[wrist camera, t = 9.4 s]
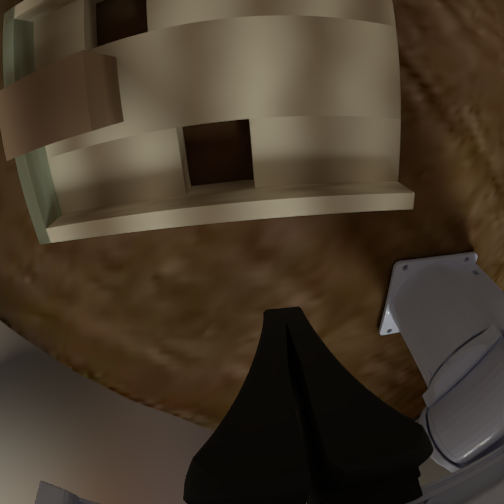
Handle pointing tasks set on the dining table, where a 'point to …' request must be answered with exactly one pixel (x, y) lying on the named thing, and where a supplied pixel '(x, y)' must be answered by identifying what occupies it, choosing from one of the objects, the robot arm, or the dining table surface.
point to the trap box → (219, 113)
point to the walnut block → (60, 102)
